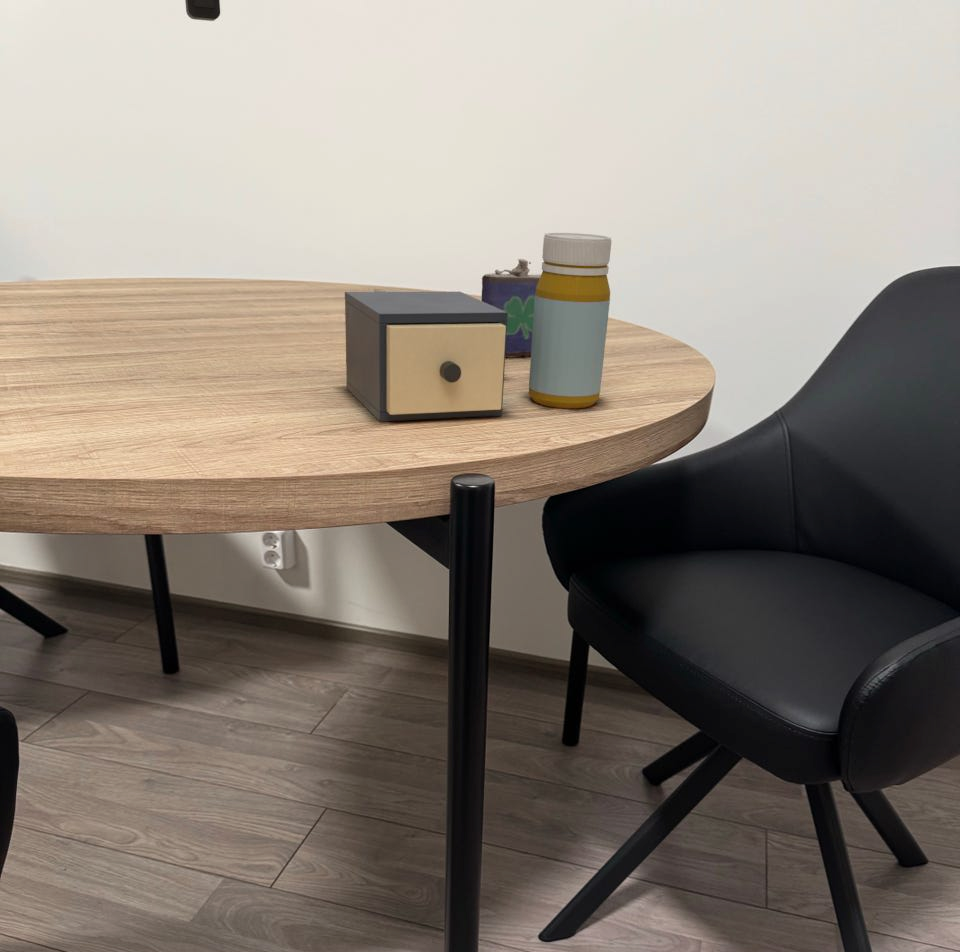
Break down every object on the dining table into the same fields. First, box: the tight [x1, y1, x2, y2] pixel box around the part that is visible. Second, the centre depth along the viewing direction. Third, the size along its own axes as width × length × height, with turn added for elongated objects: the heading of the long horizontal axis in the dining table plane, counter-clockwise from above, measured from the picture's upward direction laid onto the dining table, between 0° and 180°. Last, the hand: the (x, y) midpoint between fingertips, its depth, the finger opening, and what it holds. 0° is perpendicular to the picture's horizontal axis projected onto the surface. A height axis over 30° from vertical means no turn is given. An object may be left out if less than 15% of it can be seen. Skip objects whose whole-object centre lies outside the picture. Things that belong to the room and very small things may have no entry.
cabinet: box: [344, 291, 508, 423], centre depth 88 cm, size 13×12×9 cm
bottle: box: [528, 232, 612, 409], centre depth 89 cm, size 7×7×15 cm
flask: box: [481, 258, 541, 358], centre depth 110 cm, size 9×3×11 cm, turn 111°
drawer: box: [387, 322, 506, 415], centre depth 86 cm, size 13×10×7 cm
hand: (203, 18), depth 67 cm, fingers closed
